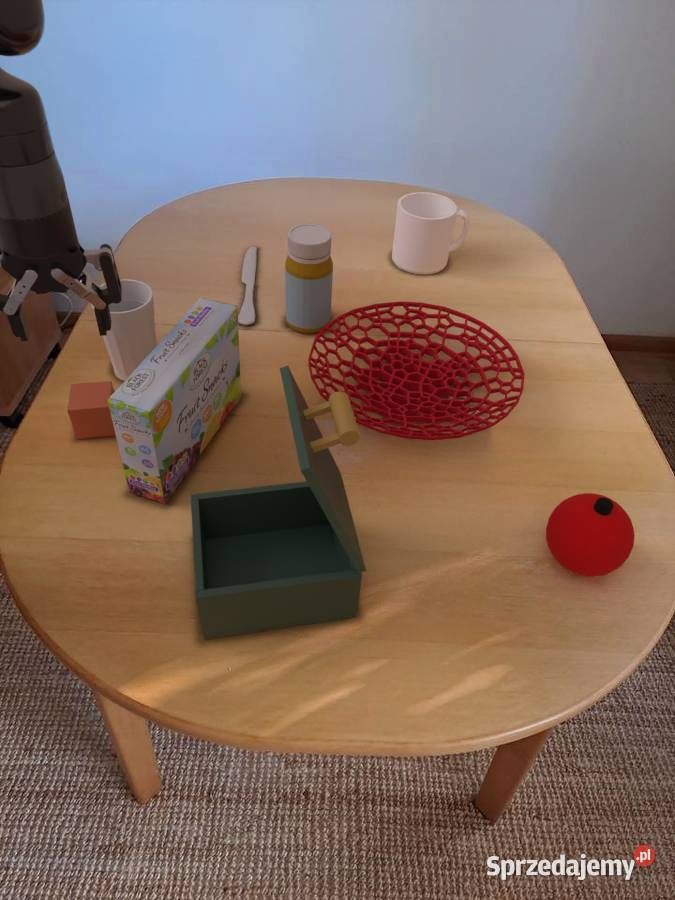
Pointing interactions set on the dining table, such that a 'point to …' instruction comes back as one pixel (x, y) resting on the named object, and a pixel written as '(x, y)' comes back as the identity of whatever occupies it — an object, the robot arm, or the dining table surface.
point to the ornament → (590, 534)
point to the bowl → (417, 373)
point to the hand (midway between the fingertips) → (65, 334)
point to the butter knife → (248, 287)
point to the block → (91, 409)
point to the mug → (425, 232)
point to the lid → (325, 458)
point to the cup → (131, 328)
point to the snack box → (178, 399)
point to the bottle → (308, 278)
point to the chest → (268, 561)
